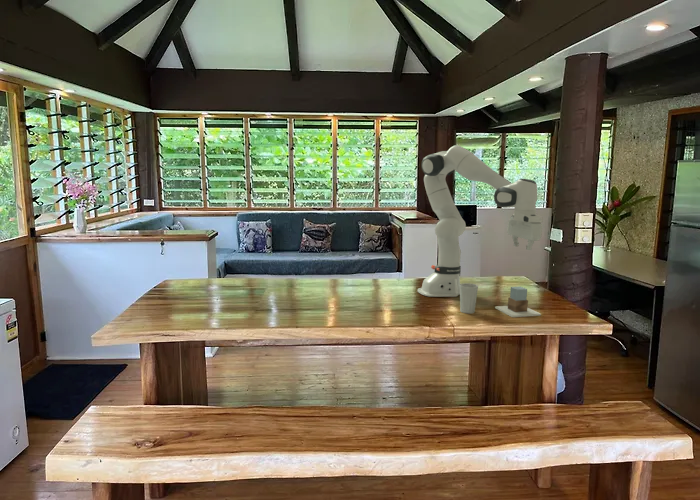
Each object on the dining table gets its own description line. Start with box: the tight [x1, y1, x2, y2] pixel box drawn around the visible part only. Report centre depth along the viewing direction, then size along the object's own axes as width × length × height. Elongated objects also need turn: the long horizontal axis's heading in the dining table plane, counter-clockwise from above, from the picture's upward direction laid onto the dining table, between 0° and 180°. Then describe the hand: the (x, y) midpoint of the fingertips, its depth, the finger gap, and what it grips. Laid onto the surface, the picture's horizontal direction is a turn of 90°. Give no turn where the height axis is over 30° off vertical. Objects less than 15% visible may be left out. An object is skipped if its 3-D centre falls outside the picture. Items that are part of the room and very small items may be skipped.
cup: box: [459, 282, 479, 314], centre depth 213 cm, size 8×8×12 cm
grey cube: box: [509, 286, 528, 301], centre depth 213 cm, size 5×5×5 cm
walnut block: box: [507, 297, 529, 312], centre depth 214 cm, size 6×6×5 cm
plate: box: [494, 305, 542, 318], centre depth 215 cm, size 14×14×1 cm
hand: (522, 248), depth 210 cm, fingers open, 8 cm apart
